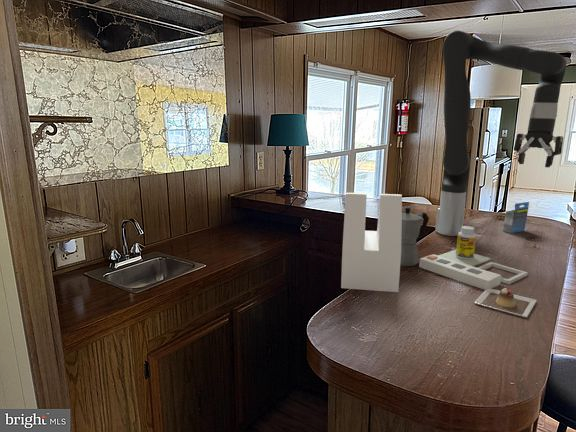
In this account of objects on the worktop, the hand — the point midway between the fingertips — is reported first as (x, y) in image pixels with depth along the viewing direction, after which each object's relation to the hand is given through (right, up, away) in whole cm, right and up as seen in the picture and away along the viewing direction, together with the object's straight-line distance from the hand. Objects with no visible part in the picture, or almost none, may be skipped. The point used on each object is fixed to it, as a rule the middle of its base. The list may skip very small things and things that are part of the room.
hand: (534, 165), depth 142 cm
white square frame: (-21, -35, -18) cm, 44 cm away
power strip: (-33, -35, -18) cm, 51 cm away
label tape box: (+8, -24, +28) cm, 37 cm away
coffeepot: (-46, -32, -6) cm, 56 cm away
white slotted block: (-60, -36, -19) cm, 73 cm away
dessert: (-29, -40, -36) cm, 61 cm away
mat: (-26, -31, -4) cm, 41 cm away
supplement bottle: (-26, -31, -5) cm, 41 cm away
